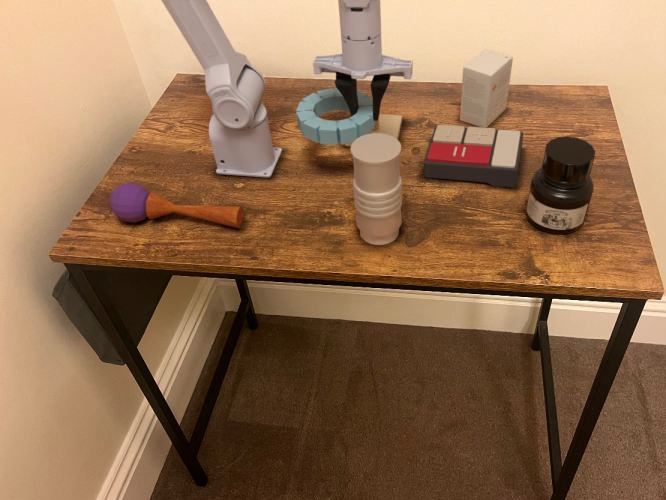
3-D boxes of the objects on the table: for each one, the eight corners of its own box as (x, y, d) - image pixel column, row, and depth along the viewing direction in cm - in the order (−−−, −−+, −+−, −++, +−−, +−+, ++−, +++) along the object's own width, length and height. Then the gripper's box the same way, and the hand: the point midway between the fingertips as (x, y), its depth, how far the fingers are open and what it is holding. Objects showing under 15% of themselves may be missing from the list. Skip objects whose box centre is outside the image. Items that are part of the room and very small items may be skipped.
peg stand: (344, 146, 108) (342, 116, 104) (353, 118, 114) (351, 88, 110) (395, 149, 107) (395, 119, 103) (402, 121, 113) (402, 91, 109)
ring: (290, 142, 95) (288, 127, 93) (308, 100, 104) (307, 85, 102) (368, 147, 94) (367, 132, 92) (380, 104, 102) (380, 90, 100)
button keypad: (435, 121, 106) (524, 127, 103) (435, 142, 109) (521, 149, 106) (422, 158, 99) (518, 166, 96) (423, 180, 102) (515, 188, 99)
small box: (480, 101, 117) (485, 47, 110) (506, 109, 115) (514, 55, 107) (458, 120, 113) (462, 66, 105) (485, 130, 111) (491, 75, 103)
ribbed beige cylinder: (406, 219, 95) (406, 135, 84) (396, 250, 90) (395, 165, 79) (363, 213, 96) (357, 130, 85) (351, 243, 92) (344, 159, 81)
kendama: (231, 221, 90) (98, 202, 91) (238, 244, 95) (112, 227, 96) (242, 189, 93) (113, 172, 94) (248, 214, 98) (126, 197, 99)
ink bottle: (516, 227, 93) (528, 161, 84) (529, 192, 99) (541, 126, 90) (582, 242, 91) (601, 176, 82) (591, 205, 96) (610, 139, 87)
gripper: (304, 42, 85) (314, 127, 95) (408, 47, 84) (408, 134, 94) (315, 19, 90) (324, 103, 100) (414, 24, 88) (413, 108, 98)
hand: (365, 116), depth 97 cm, fingers closed on ring, 3 cm apart
